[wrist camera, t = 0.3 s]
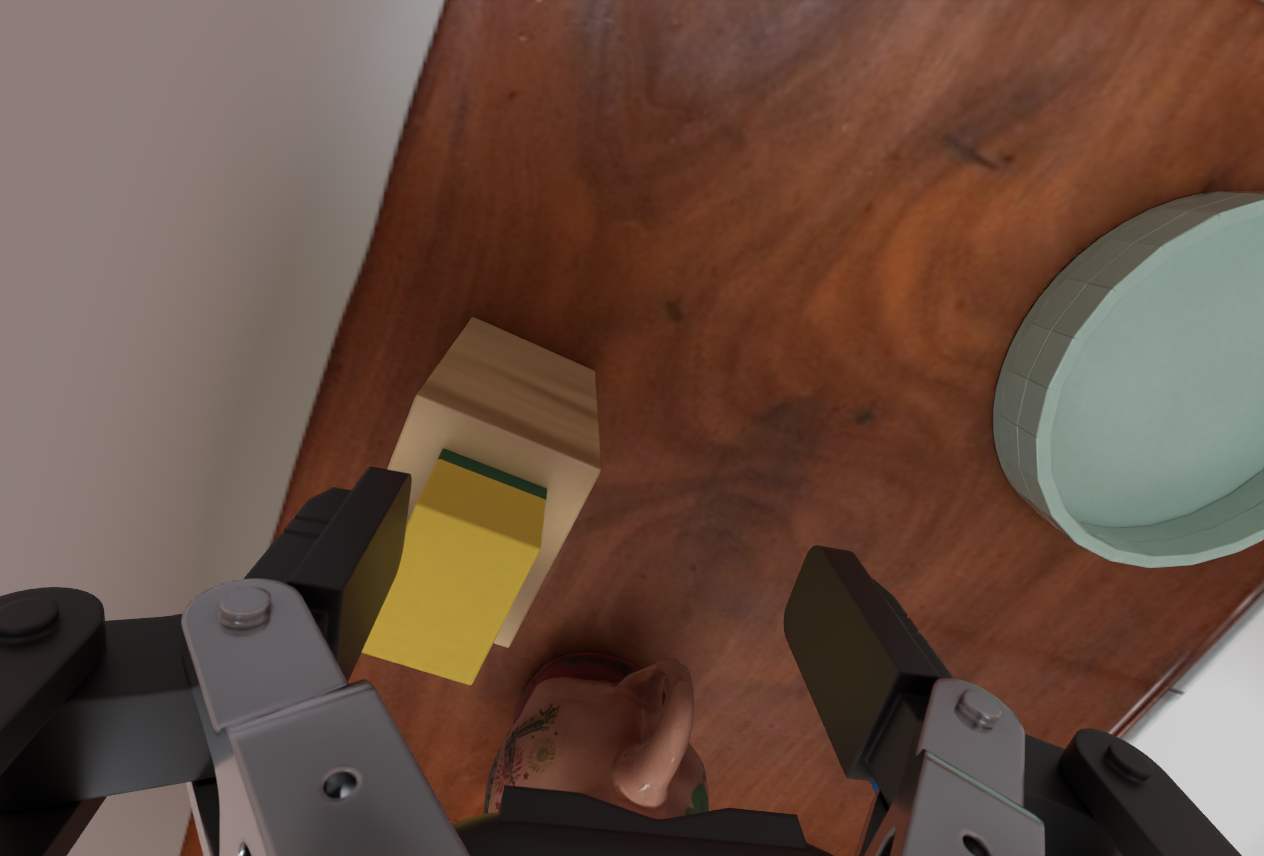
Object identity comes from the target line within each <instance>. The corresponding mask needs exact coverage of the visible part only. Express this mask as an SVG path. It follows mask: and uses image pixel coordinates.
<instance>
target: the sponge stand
mask: <svg viewBox="0 0 1264 856" xmlns="http://www.w3.org/2000/svg"><path fill="white" fill-rule="evenodd" d="M443 448H444V449H447V450H449V451H452V452H455V453H457V454H460V455H462V456H465V457H467V458H470V459H472V460H475V461H478V462H480V463H483V464H485V465H488V466H490V467H493V468H495V469H498V470H501V471H503V472H506V473H508V474H511V475H513V476H516V477H519V478H521V479H524V480H526V481H529V482H531V483H534V484H536V485H539V486H542V487H544V488H547V497H546V504H545V513H544V522H543V531H542V541H541V550H540V552H539V554H538V556H537V558H536V560H535V562H534V564H533V566H532V568H531V570H530V572H529V574H528V576H527V578H526V580H525V582H524V584H523V586H522V587H521V589H520V591H519V593H518V595H517V597H516V599H515V601H514V603H513V605H512V607H511V609H510V611H509V613H508V615H507V617H506V619H505V621H504V623H503V625H502V627H501V629H500V631H499V633H498V635H497V637H496V639H495V641H494V644H497V645H500V646H504V647H507V648H508V647H509V646H510V645H511V643H512V641H513V639H514V637H515V635H516V633H517V631H518V629H519V628H520V626H521V624H522V622H523V620H524V618H525V616H526V614H527V612H528V610H529V608H530V606H531V604H532V603H533V601H534V599H535V597H536V595H537V593H538V591H539V589H540V587H541V585H542V583H543V581H544V580H545V578H546V576H547V574H548V572H549V570H550V568H551V566H552V564H553V562H554V560H555V558H556V557H557V555H558V553H559V551H560V549H561V547H562V545H563V543H564V541H565V539H566V537H567V535H568V534H569V532H570V530H571V528H572V526H573V524H574V522H575V520H576V518H577V516H578V514H579V512H580V510H581V509H582V507H583V505H584V503H585V501H586V499H587V497H588V495H589V493H590V491H591V489H592V487H593V486H594V484H595V482H596V480H597V478H598V476H599V474H600V472H601V457H600V441H599V425H598V409H597V393H596V377H595V371H594V370H592V369H589V368H587V367H585V366H583V365H580V364H578V363H576V362H574V361H572V360H569V359H567V358H565V357H563V356H560V355H558V354H556V353H554V352H551V351H549V350H547V349H545V348H542V347H540V346H538V345H536V344H533V343H531V342H529V341H527V340H524V339H522V338H520V337H518V336H515V335H513V334H511V333H509V332H506V331H504V330H502V329H500V328H497V327H495V326H493V325H491V324H488V323H486V322H484V321H482V320H479V319H477V318H475V317H472V318H471V319H470V321H469V322H468V323H467V325H466V326H465V328H464V329H463V330H462V332H461V333H460V334H459V336H458V337H457V339H456V340H455V341H454V343H453V344H452V346H451V347H450V348H449V350H448V351H447V353H446V354H445V355H444V357H443V358H442V360H441V361H440V362H439V364H438V365H437V367H436V368H435V369H434V371H433V372H432V374H431V375H430V376H429V378H428V379H427V381H426V382H425V383H424V385H423V386H422V388H421V389H420V390H419V392H418V393H417V394H416V396H415V399H414V401H413V404H412V406H411V409H410V412H409V414H408V417H407V419H406V422H405V424H404V427H403V430H402V432H401V435H400V437H399V440H398V442H397V445H396V447H395V450H394V453H393V455H392V458H391V460H390V463H389V465H388V468H387V470H393V471H399V472H404V473H410V474H411V477H412V484H411V493H410V500H409V508H408V516H407V523H408V521H409V519H410V516H411V514H412V511H413V509H414V507H415V504H416V502H417V500H418V498H419V496H420V494H421V492H422V490H423V488H424V486H425V484H426V482H427V480H428V478H429V476H430V474H431V472H432V469H433V467H434V465H435V463H436V461H437V459H438V457H439V455H440V453H441V451H442V449H443ZM406 526H407V524H406Z"/></svg>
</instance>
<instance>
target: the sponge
mask: <svg viewBox="0 0 1264 856" xmlns="http://www.w3.org/2000/svg"><path fill="white" fill-rule="evenodd" d="M546 497H547V488H544V487H542V486H539V485H536V484H534V483H531V482H529V481H526V480H524V479H521V478H519V477H516V476H513V475H511V474H508V473H506V472H503V471H501V470H498V469H495V468H493V467H490V466H488V465H485V464H483V463H480V462H478V461H475V460H472V459H470V458H467V457H465V456H462V455H460V454H457V453H455V452H452V451H449V450H447V449H444V448H443V449H442V451H441V453H440V455H439V457H438V459H437V461H436V463H435V465H434V467H433V469H432V472H431V474H430V476H429V478H428V480H427V482H426V484H425V486H424V488H423V490H422V492H421V494H420V496H419V498H418V500H417V502H416V504H415V507H414V509H413V511H412V514H411V516H410V519H409V521H408V523H407V526H406V532H405V540H404V547H403V553H402V557H401V561H400V565H399V569H398V572H397V575H396V577H395V580H394V582H393V584H392V586H391V588H390V591H389V593H388V595H387V597H386V599H385V602H384V604H383V606H382V608H381V610H380V613H379V615H378V617H377V619H376V621H375V624H374V626H373V628H372V630H371V632H370V634H369V637H368V639H367V641H366V643H365V645H364V648H363V650H362V653H365V654H369V655H372V656H375V657H378V658H382V659H385V660H388V661H392V662H395V663H398V664H402V665H405V666H408V667H411V668H415V669H418V670H421V671H425V672H428V673H431V674H434V675H438V676H441V677H444V678H448V679H451V680H454V681H458V682H461V683H464V684H467V685H471V684H472V683H473V682H474V680H475V678H476V676H477V674H478V672H479V670H480V668H481V666H482V664H483V662H484V660H485V658H486V656H487V654H488V652H489V650H490V648H491V646H492V644H493V643H494V641H495V639H496V637H497V635H498V633H499V631H500V629H501V627H502V625H503V623H504V621H505V619H506V617H507V615H508V613H509V611H510V609H511V607H512V605H513V603H514V601H515V599H516V597H517V595H518V593H519V591H520V589H521V587H522V586H523V584H524V582H525V580H526V578H527V576H528V574H529V572H530V570H531V568H532V566H533V564H534V562H535V560H536V558H537V556H538V554H539V552H540V550H541V541H542V531H543V522H544V513H545V504H546Z"/></svg>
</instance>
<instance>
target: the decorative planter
mask: <svg viewBox="0 0 1264 856" xmlns="http://www.w3.org/2000/svg"><path fill="white" fill-rule="evenodd" d="M665 677H666V679H667V693H666V695H665V694H664V692H663V684H664V680H665ZM693 713H694V700H693V687H692V681H691V677H690V672H689V670H688V668H687V667H686V666H684V665H683V664H681V663H680V662H679V661H678V660H676V659H673V658H665V659H662V660H659V661H657V664H656V665H651V666H649V667H647V668H644V669H640V668H639V667H637V666H636V665H634V664H632V663H631V662H629V661H627V660H624V659H621V658H618V657H615V656H610V655H606V654H600V653H591V652H581V653H572V654H568V655H564V656H561V657H558V658H556V659H554V660H552V661H551V662H549V663H548V664H546V665H545V666H544V667H543V668H542V669H541V670H540V671H539V672H538V673H537V674H536V675H535V677H534V678H533V679H532V680H531V681H530V683H529V684H528V686H527V687H526V689H525V690H524V692H523V694H522V696H521V699H520V702H519V705H518V707H517V709H516V711H515V714H514V723H513V726H512V728H511V729H510V731H509V732H508V734H507V736H506V737H505V739H504V741H503V743H502V745H501V747H500V750H499V752H498V754H497V756H496V758H495V761H494V763H493V765H492V768H491V770H490V774H489V778H488V783H487V788H486V795H485V803H484V814H487V813H493V812H498V810H499V806H500V802H501V797H502V793H503V788H504V785H510V786H520V787H530V788H539V789H549V790H559V791H569V792H579V793H583V794H585V795H588V796H591V797H594V798H597V799H600V800H603V801H605V802H608V803H611V804H614V805H617V806H620V807H622V808H625V809H628V810H631V811H634V812H637V813H640V814H642V815H645V816H648V817H651V818H655V819H667V818H673V817H679V816H685V815H691V814H696V813H702V812H708V811H709V801H708V786H707V779H706V773H705V769H704V765H703V763H702V761H701V759H700V757H699V755H698V754H697V753H696V751H695V750H694V749H693V747H692V746H691V745H690V743H689V738H690V734H691V730H692V725H693Z"/></svg>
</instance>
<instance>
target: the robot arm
mask: <svg viewBox="0 0 1264 856" xmlns="http://www.w3.org/2000/svg"><path fill="white" fill-rule="evenodd" d="M411 484H412V477H411V474H410V473H404V472H399V471H393V470H387V469H381V468H376V467H369V468H368V469H367V470H366V471H365V473H364V474H363V475H362V477H361V478H360V480H359V481H358V482H357V484H356V485H355V487H354V488H353V489H352V490H346V489H340V488H334V487H333V488H331V489H329V490H327V491H325V492H323V493H321V494H319V495H317V496H315V497H313V498H311V499H309V500H308V501H307V503H306V504H305V505H304V506H303V507H302V509H301V510H300V511H299V512H298V513H297V515H296V517H295V519H293V520H292V521H291V522H290V523H289V524H288V526H287V527H286V528H285V529H284V533H281V534H280V535H279V537H278V538H277V539H276V540H275V541H274V543H273V544H272V545H271V546H270V547H269V549H268V550H267V551H266V552H265V553H264V555H263V556H262V557H261V558H260V560H259V561H258V562H257V563H256V565H255V566H254V567H253V568H252V569H251V571H250V572H249V573H248V574H247V575H246V577H245V578H244V579H242V580H235V581H231V582H227V583H223V584H220V585H218V586H215V587H213V588H210V589H208V590H206V591H204V592H203V593H201V594H200V595H198V596H197V597H196V598H195V599H193V600H192V601H191V602H190V603H189V604H188V606H187V607H186V608H185V610H184V612H183V614H178V615H173V616H165V617H154V618H140V619H126V620H114V621H105V616H104V608H103V605H102V603H101V602H100V601H99V599H98V598H96V597H95V596H94V595H92V594H89V593H88V592H85V591H81V590H78V589H72V588H60V587H49V588H38V589H29V590H24V591H18V592H14V593H10V594H7V595H3V596H0V856H67V854H68V853H69V851H70V850H71V848H72V847H73V845H74V844H75V843H76V841H77V839H78V838H79V837H80V835H81V834H82V832H83V831H84V829H85V828H86V826H87V825H88V823H89V822H90V820H91V819H92V818H93V816H94V815H95V813H96V812H97V810H98V809H99V807H100V806H101V804H102V803H103V801H104V800H105V798H106V797H107V796H110V795H116V794H122V793H127V792H133V791H139V790H145V789H150V788H156V787H162V786H168V785H173V784H179V783H185V782H186V787H187V790H188V795H189V799H190V803H191V807H192V811H193V815H194V819H195V823H196V827H197V831H198V835H199V839H200V843H201V847H202V851H203V855H204V856H833V855H831V854H829V853H827V852H825V851H823V850H821V849H819V848H817V847H815V846H813V845H810V844H807V843H806V841H805V838H804V835H803V832H802V829H801V826H800V823H799V820H798V817H797V815H793V814H784V813H774V812H764V811H754V810H745V809H735V808H725V809H719V810H714V811H708V812H702V813H696V814H691V815H685V816H679V817H673V818H667V819H655V818H651V817H648V816H645V815H642V814H640V813H637V812H634V811H631V810H628V809H625V808H622V807H620V806H617V805H614V804H611V803H608V802H605V801H603V800H600V799H597V798H594V797H591V796H588V795H585V794H583V793H579V792H569V791H559V790H549V789H539V788H530V787H520V786H510V785H504V788H503V793H502V797H501V802H500V806H499V810H498V812H493V813H487V814H482V815H479V816H475V817H472V818H469V819H465V820H463V821H460V822H458V823H456V824H452V823H451V821H450V819H449V817H448V816H447V814H446V812H445V810H444V809H443V807H442V805H441V803H440V801H439V800H438V798H437V796H436V794H435V793H434V791H433V789H432V787H431V786H430V784H429V782H428V780H427V778H426V777H425V775H424V773H423V771H422V770H421V768H420V766H419V764H418V763H417V761H416V759H415V757H414V755H413V754H412V752H411V750H410V748H409V747H408V745H407V743H406V741H405V740H404V738H403V736H402V734H401V732H400V731H399V729H398V727H397V725H396V724H395V722H394V720H393V718H392V717H391V715H390V713H389V711H388V709H387V708H386V706H385V704H384V702H383V701H382V699H381V697H380V695H379V693H378V692H377V690H376V689H375V687H374V686H373V685H372V684H371V683H370V682H369V681H368V680H365V679H363V680H360V681H357V682H354V683H351V684H349V683H348V681H349V678H350V676H351V674H352V672H353V670H354V667H355V665H356V663H357V661H358V659H359V656H360V654H361V652H362V650H363V648H364V645H365V643H366V641H367V639H368V637H369V634H370V632H371V630H372V628H373V626H374V624H375V621H376V619H377V617H378V615H379V613H380V610H381V608H382V606H383V604H384V602H385V599H386V597H387V595H388V593H389V591H390V588H391V586H392V584H393V582H394V580H395V577H396V575H397V572H398V569H399V565H400V561H401V557H402V553H403V547H404V540H405V532H406V524H407V516H408V508H409V500H410V493H411ZM784 632H785V636H786V639H787V642H788V644H789V646H790V649H791V651H792V653H793V655H794V658H795V660H796V662H797V665H798V667H799V669H800V672H801V674H802V676H803V678H804V681H805V683H806V685H807V688H808V690H809V692H810V695H811V697H812V699H813V701H814V704H815V706H816V708H817V711H818V713H819V715H820V718H821V720H822V722H823V725H824V727H825V729H826V731H827V734H828V736H829V738H830V741H831V743H832V745H833V748H834V750H835V752H836V754H837V757H838V759H839V761H840V764H841V766H842V768H843V771H844V773H845V775H846V777H847V778H850V779H859V780H868V781H876V782H877V785H878V787H879V789H878V791H877V793H876V795H875V797H874V798H873V800H872V802H871V805H870V808H869V811H868V814H867V817H866V821H865V824H864V827H863V830H862V833H861V836H860V840H859V843H858V846H857V849H856V852H855V855H854V856H1241V854H1240V853H1239V852H1238V851H1237V850H1236V849H1235V848H1234V847H1233V846H1232V845H1231V844H1230V843H1229V841H1228V840H1227V839H1226V838H1225V837H1224V836H1223V835H1222V834H1221V833H1220V831H1219V830H1218V829H1217V828H1216V827H1215V826H1214V825H1213V824H1212V823H1211V822H1210V821H1209V819H1208V818H1207V817H1206V816H1205V815H1204V814H1203V813H1202V812H1201V811H1200V810H1199V809H1198V808H1197V806H1196V805H1195V804H1194V803H1193V802H1192V801H1191V800H1190V799H1189V798H1188V796H1187V795H1186V794H1185V793H1184V792H1183V791H1182V790H1181V789H1180V788H1179V787H1178V786H1177V785H1176V783H1175V782H1174V781H1173V780H1172V779H1171V778H1170V777H1169V776H1168V775H1167V774H1166V772H1165V771H1163V770H1162V768H1161V767H1159V766H1158V765H1157V764H1156V763H1155V762H1154V761H1153V760H1152V759H1150V758H1149V757H1148V756H1147V755H1145V754H1144V753H1143V752H1141V751H1140V750H1138V749H1137V748H1135V747H1134V746H1132V745H1130V744H1129V743H1127V742H1125V741H1124V740H1122V739H1120V738H1118V737H1116V736H1113V735H1111V734H1109V733H1106V732H1103V731H1100V730H1096V729H1081V730H1079V731H1078V732H1077V733H1076V734H1075V735H1074V737H1073V739H1072V740H1071V742H1070V743H1069V745H1068V746H1067V748H1066V749H1063V748H1061V747H1058V746H1055V745H1053V744H1050V743H1047V742H1045V741H1042V740H1039V739H1037V738H1034V737H1031V736H1029V735H1026V734H1025V732H1024V729H1023V726H1022V724H1021V723H1020V721H1019V719H1018V718H1017V717H1016V715H1015V714H1014V713H1013V712H1012V711H1011V710H1010V709H1009V708H1008V707H1007V706H1006V705H1005V704H1004V703H1003V702H1002V701H1000V700H999V699H998V698H996V697H995V696H994V695H992V694H991V693H989V692H988V691H986V690H984V689H982V688H981V687H979V686H976V685H974V684H972V683H970V682H967V681H964V680H960V679H956V678H953V677H952V675H951V674H950V673H949V671H948V670H947V669H946V667H945V666H944V664H943V663H942V662H941V660H940V659H939V658H938V656H937V655H936V653H935V652H934V651H933V649H932V648H931V647H930V645H929V644H928V643H927V641H926V640H925V638H924V637H923V636H922V634H920V633H918V629H917V627H916V626H915V625H914V623H913V622H912V621H911V619H910V618H907V614H906V612H905V611H904V610H903V608H902V607H901V605H900V604H899V603H898V601H897V600H896V599H895V597H894V596H893V595H892V594H890V593H889V592H888V591H887V590H886V589H884V588H883V587H882V586H881V585H880V584H878V583H877V582H876V581H875V580H874V579H872V578H871V577H870V575H869V574H868V573H867V571H866V570H865V568H864V567H863V566H862V564H861V563H860V561H859V560H858V558H857V557H856V556H855V554H854V553H852V552H851V551H846V550H841V549H835V548H829V547H823V546H818V545H817V546H813V547H812V548H811V549H810V550H809V552H808V553H807V555H806V558H805V560H804V563H803V565H802V568H801V570H800V573H799V575H798V578H797V580H796V583H795V585H794V588H793V591H792V593H791V596H790V598H789V601H788V603H787V606H786V609H785V614H784Z"/></svg>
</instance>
